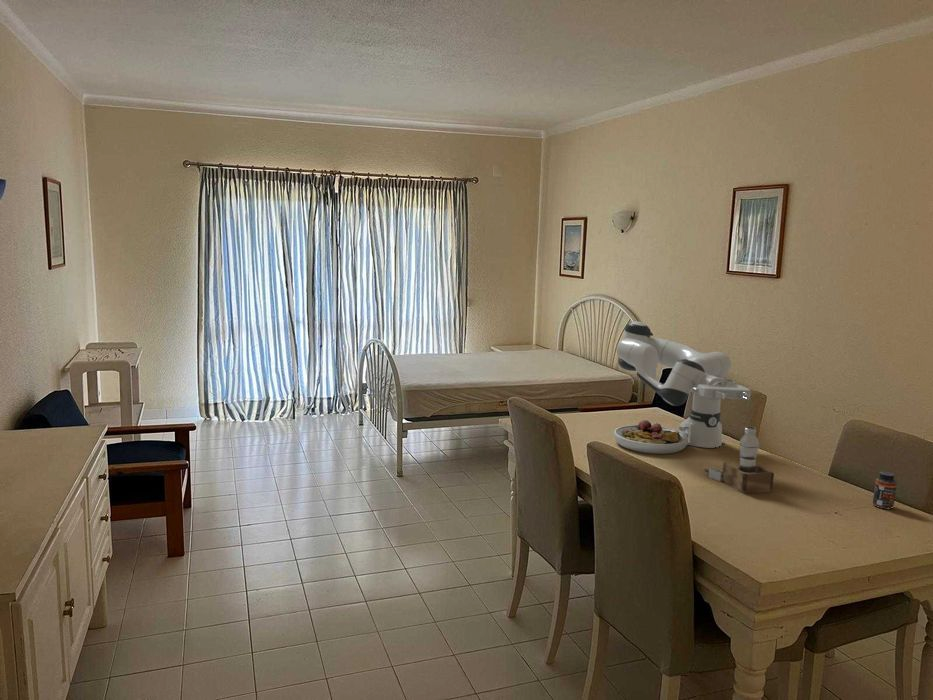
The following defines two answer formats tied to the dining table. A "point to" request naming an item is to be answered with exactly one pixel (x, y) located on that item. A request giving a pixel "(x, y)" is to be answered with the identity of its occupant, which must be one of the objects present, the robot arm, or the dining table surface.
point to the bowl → (650, 438)
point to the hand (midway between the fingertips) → (737, 397)
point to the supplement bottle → (884, 490)
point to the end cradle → (748, 479)
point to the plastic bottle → (748, 451)
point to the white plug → (715, 474)
